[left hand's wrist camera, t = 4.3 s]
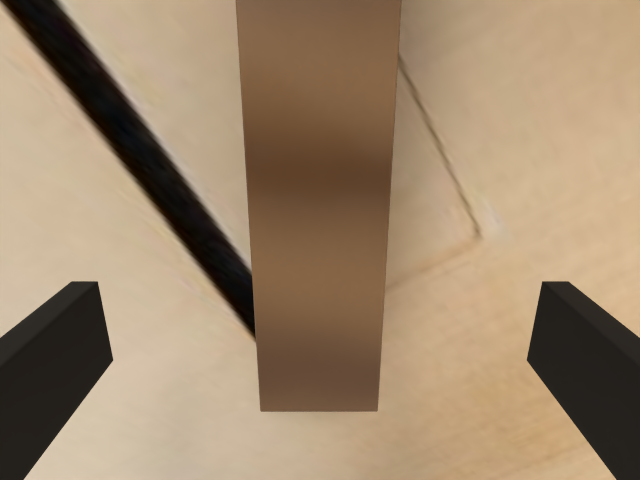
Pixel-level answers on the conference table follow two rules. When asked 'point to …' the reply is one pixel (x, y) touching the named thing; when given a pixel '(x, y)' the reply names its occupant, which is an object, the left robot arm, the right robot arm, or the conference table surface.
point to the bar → (318, 194)
